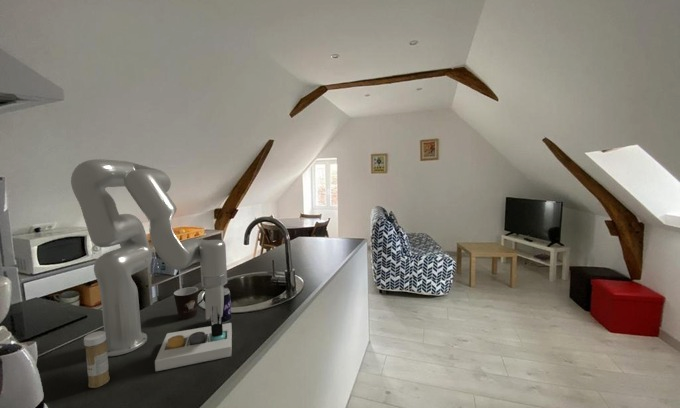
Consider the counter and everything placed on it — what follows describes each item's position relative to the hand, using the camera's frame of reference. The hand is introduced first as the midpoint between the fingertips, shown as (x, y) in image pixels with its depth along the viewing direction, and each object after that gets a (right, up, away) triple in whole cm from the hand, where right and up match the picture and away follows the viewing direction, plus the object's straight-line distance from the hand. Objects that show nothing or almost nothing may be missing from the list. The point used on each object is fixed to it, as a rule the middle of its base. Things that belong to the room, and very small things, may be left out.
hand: (217, 334), depth 96 cm
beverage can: (-4, -2, +17) cm, 17 cm away
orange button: (-11, -2, -4) cm, 12 cm away
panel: (-5, -4, -2) cm, 7 cm away
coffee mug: (-19, -2, +22) cm, 29 cm away
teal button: (0, -3, 0) cm, 3 cm away
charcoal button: (-5, -2, -2) cm, 6 cm away
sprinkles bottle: (-24, -6, -17) cm, 30 cm away
